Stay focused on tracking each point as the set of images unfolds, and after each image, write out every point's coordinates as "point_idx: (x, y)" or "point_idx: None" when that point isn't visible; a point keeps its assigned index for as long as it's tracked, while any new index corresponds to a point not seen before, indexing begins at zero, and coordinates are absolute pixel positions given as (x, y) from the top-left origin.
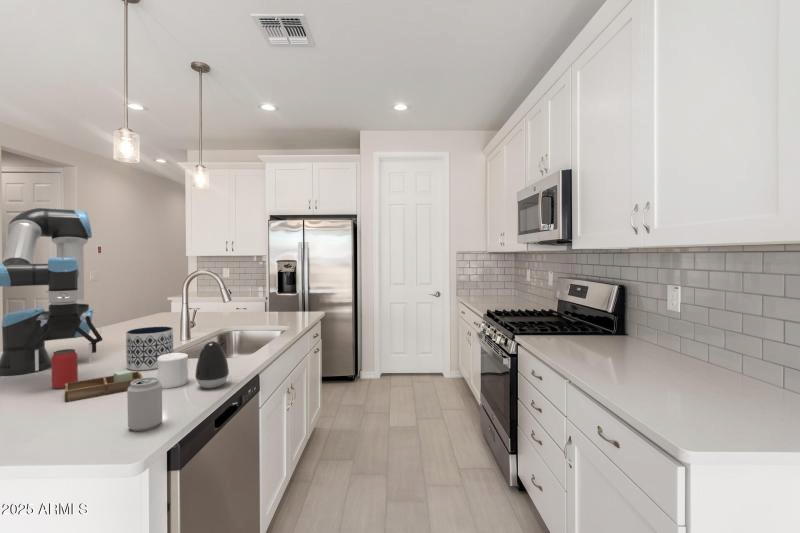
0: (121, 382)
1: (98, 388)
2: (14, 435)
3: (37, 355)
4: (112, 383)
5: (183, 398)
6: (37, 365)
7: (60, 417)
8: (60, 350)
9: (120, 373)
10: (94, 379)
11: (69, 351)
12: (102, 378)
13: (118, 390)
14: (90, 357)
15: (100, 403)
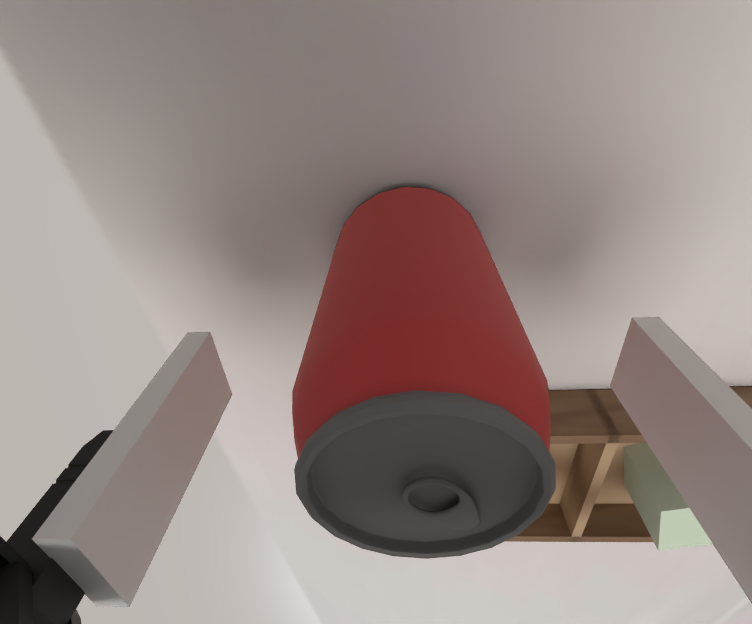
0: (636, 540)
1: (538, 529)
2: (327, 611)
3: (159, 534)
4: (600, 541)
5: (715, 614)
6: (208, 432)
7: (408, 581)
8: (365, 424)
9: (680, 535)
10: (559, 441)
11: (478, 522)
12: (600, 438)
13: (606, 503)
14: (652, 435)
15: (515, 551)
